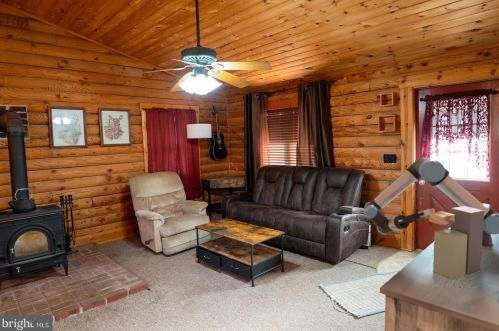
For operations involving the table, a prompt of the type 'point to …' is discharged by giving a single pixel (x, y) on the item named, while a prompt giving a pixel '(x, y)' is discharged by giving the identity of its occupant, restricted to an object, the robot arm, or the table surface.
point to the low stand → (450, 253)
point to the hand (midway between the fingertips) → (431, 211)
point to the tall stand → (470, 234)
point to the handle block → (441, 217)
